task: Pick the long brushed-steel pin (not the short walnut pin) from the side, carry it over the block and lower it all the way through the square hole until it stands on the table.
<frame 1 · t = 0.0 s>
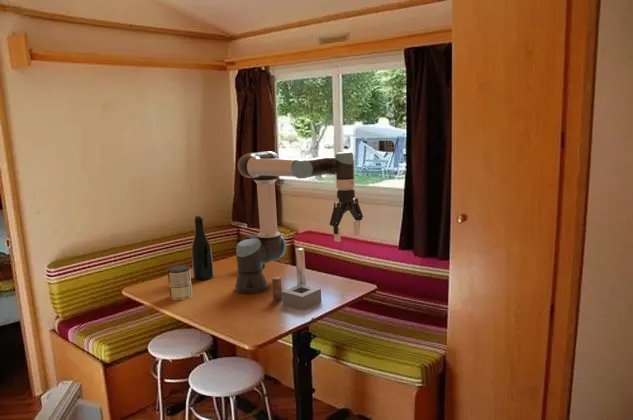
hand: (347, 238, 214), 28 cm above the table, tool pointing down, fingers open, 13 cm apart
short walnut pin: (277, 300, 223), on the table
hole block: (302, 303, 218), on the table
beer bottle: (203, 278, 262), on the table
coffee can: (181, 296, 234), on the table
long steel pin: (301, 290, 235), on the table
coffee jar: (256, 267, 276), on the table
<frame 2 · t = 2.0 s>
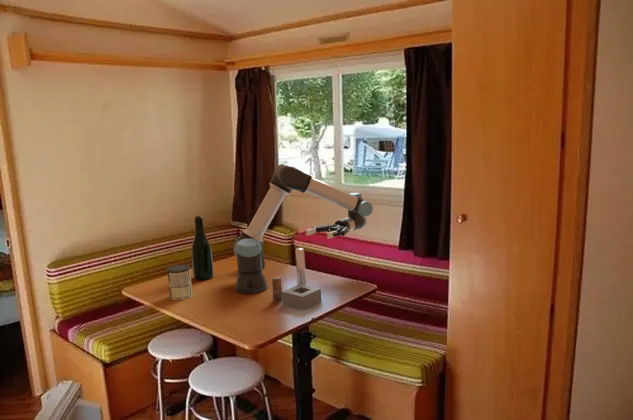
hand: (317, 234, 240), 24 cm above the table, tool horizontal, fingers open, 13 cm apart
nothing on the table moved.
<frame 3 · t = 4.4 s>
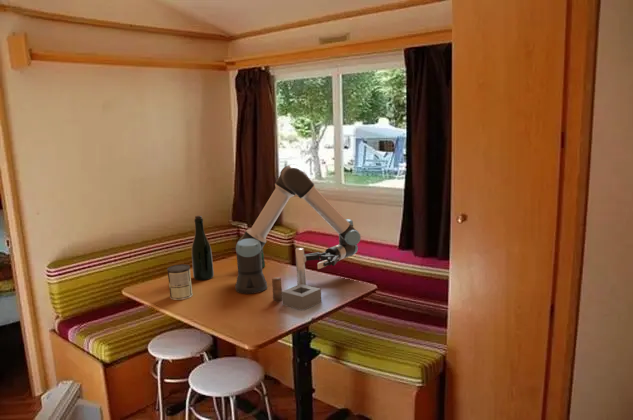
hand: (307, 263, 236), 12 cm above the table, tool horizontal, fingers open, 13 cm apart
nothing on the table moved.
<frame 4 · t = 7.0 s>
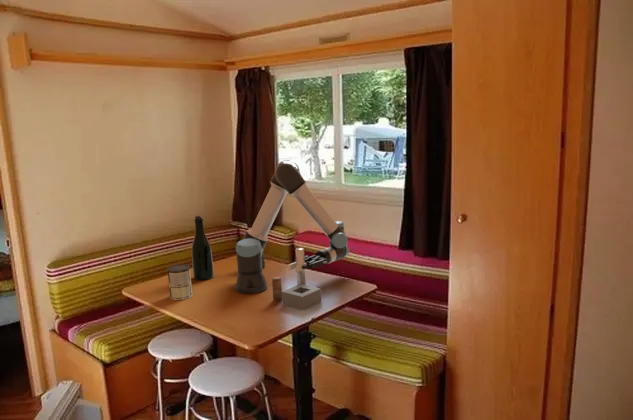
hand: (292, 268, 229), 12 cm above the table, tool horizontal, fingers closed on long steel pin, 4 cm apart
long steel pin: (301, 290, 235), on the table, touching gripper
everything else where it was.
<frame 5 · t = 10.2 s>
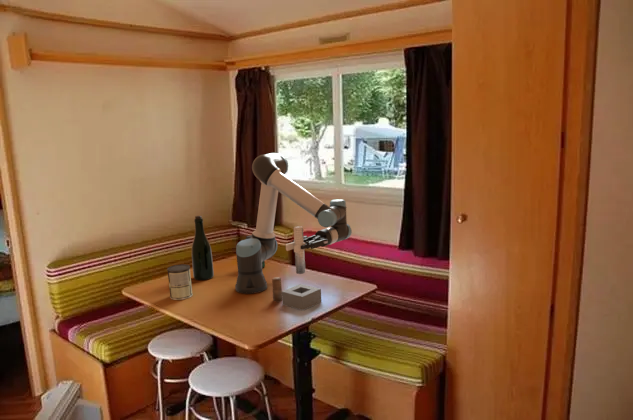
hand: (290, 248, 209), 26 cm above the table, tool horizontal, fingers closed on long steel pin, 4 cm apart
long steel pin: (300, 272, 216), point 14 cm above the table, touching gripper
everything else where it was.
when the fingers open (13 cm above the table, at t = 13.8 s): long steel pin stays where it is, resting in hole block.
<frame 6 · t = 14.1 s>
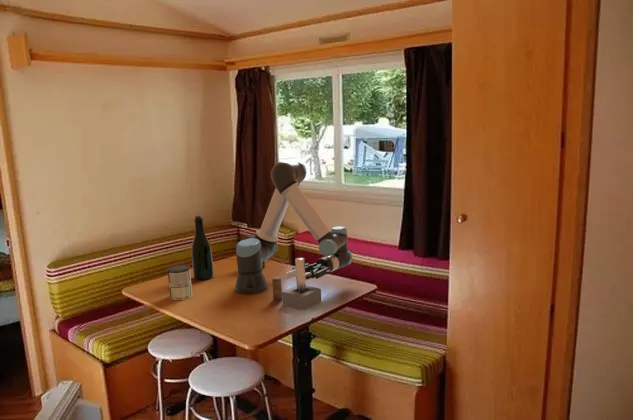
hand: (292, 277, 212), 13 cm above the table, tool horizontal, fingers open, 7 cm apart
long steel pin: (302, 303, 218), resting in hole block
everything else where it was.
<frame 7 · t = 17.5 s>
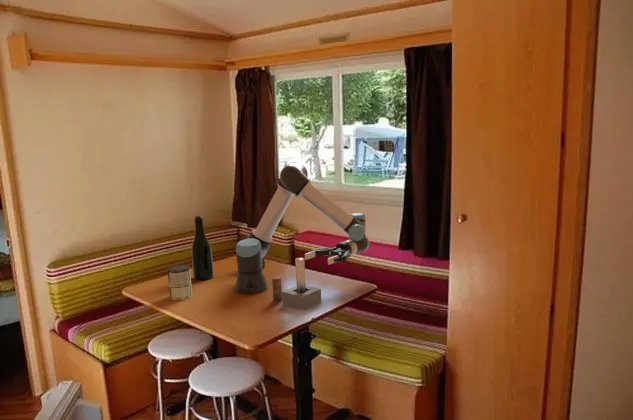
hand: (316, 259, 222), 17 cm above the table, tool horizontal, fingers open, 13 cm apart
nothing on the table moved.
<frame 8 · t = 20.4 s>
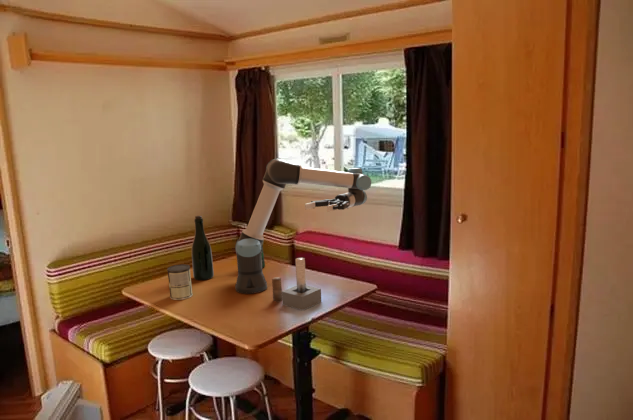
hand: (316, 207, 234), 38 cm above the table, tool horizontal, fingers open, 13 cm apart
nothing on the table moved.
at the end: long steel pin 0.1 cm off-centre on the hole block, point 0.0 cm above the hole block's base; the gripper is holding nothing; short walnut pin moved 0.0 cm from its start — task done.
